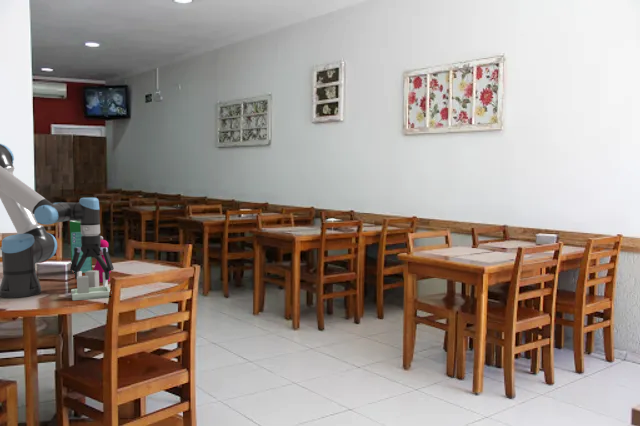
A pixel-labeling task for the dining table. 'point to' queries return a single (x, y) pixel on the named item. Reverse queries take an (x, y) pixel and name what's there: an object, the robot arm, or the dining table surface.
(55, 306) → the dining table surface
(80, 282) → the stone
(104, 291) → the bin
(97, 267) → the pepper mill
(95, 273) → the stone
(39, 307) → the dining table surface
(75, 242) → the milk carton
